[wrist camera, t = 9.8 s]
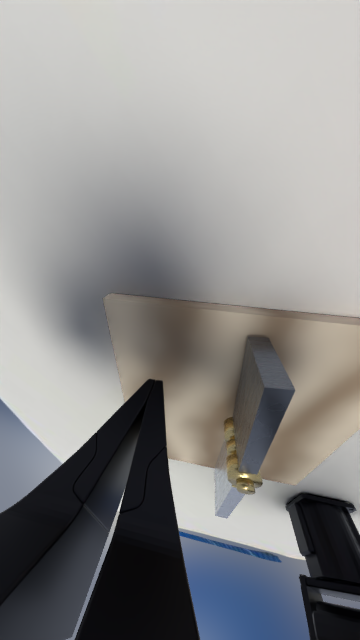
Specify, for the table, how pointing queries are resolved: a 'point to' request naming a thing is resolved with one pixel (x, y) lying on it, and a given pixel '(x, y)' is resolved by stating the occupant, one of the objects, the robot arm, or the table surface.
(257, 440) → the swing leaf
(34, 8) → the table surface
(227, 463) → the fixed leaf
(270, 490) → the table surface
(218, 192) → the table surface
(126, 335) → the board
